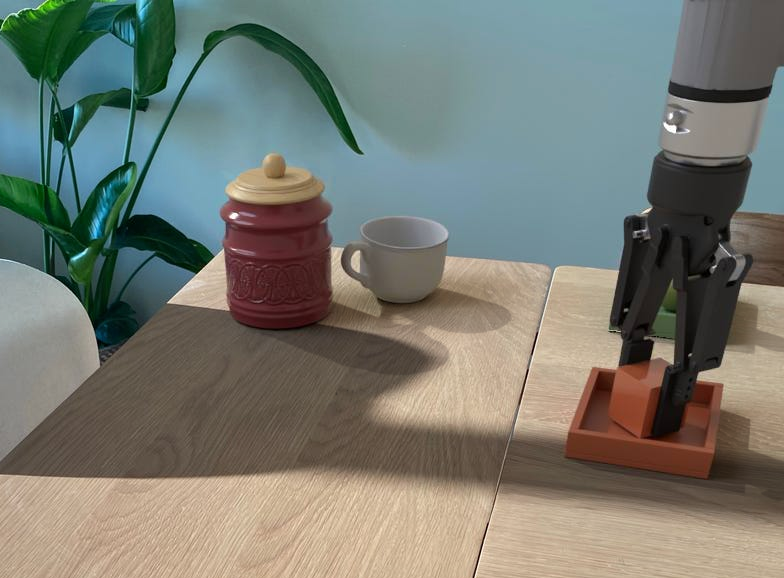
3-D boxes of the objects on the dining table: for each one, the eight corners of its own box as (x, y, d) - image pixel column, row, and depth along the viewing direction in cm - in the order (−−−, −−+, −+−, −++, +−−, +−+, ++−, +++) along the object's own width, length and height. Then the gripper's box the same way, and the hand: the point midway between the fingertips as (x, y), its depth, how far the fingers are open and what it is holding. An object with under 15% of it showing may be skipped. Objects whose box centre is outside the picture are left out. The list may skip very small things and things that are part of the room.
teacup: (423, 274, 127) (427, 210, 122) (459, 303, 119) (464, 236, 114) (323, 289, 124) (322, 224, 119) (353, 320, 116) (353, 252, 111)
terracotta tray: (707, 479, 86) (714, 453, 85) (563, 457, 90) (568, 431, 88) (717, 407, 97) (723, 383, 95) (588, 390, 100) (592, 366, 99)
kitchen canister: (354, 314, 117) (355, 155, 106) (261, 340, 112) (252, 176, 101) (297, 283, 126) (292, 133, 115) (208, 305, 121) (194, 151, 110)
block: (683, 427, 92) (696, 377, 88) (640, 438, 90) (651, 388, 87) (649, 405, 95) (660, 357, 92) (607, 416, 94) (616, 367, 91)
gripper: (596, 134, 83) (557, 389, 98) (747, 188, 70) (675, 471, 85) (668, 124, 85) (619, 375, 100) (827, 174, 72) (743, 453, 87)
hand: (645, 418), depth 92 cm, fingers closed on block, 5 cm apart
